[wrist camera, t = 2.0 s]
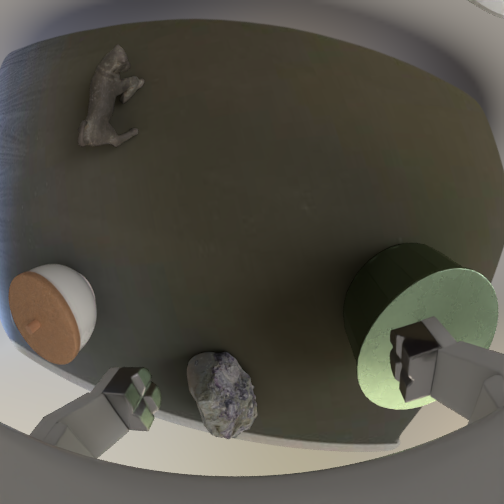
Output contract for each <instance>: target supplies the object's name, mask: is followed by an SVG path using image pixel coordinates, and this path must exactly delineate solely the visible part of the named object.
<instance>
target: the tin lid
mask: <svg viewBox="0 0 504 504" xmlns="http://www.w3.org/2000/svg"><path fill="white" fill-rule="evenodd" d="M432 316H434V317H436V318H437V319H438V320H439V322H440V323H441V324H442V325H443V326H444V327H445V328H446V330H447V331H448V332H449V333H450V334H451V335H452V337H453V338H454V339H455V340H456V341H457V342H460V341H463V342H466V343H470V344H473V345H476V346H479V347H482V348H486V349H489V347H490V345H491V342H492V340H493V337H494V334H495V331H496V326H497V320H498V302H497V297H496V294H495V291H494V289H493V287H492V285H491V284H490V282H489V281H488V280H487V279H486V278H485V277H484V276H483V275H482V274H480V273H479V272H477V271H475V270H473V269H470V268H466V267H456V266H455V267H446V268H442V269H438V270H435V271H432V272H430V273H427V274H425V275H423V276H421V277H419V278H417V279H416V280H414V281H413V282H411V283H410V284H408V285H407V286H405V287H404V288H403V289H402V290H400V291H399V292H398V293H397V294H395V295H394V296H393V297H392V298H391V299H390V300H389V301H388V302H387V303H386V304H385V306H384V307H383V308H382V309H381V310H380V312H379V313H378V314H377V315H376V317H375V318H374V320H373V321H372V323H371V324H370V326H369V328H368V329H367V331H366V333H365V335H364V337H363V340H362V342H361V344H360V348H359V351H358V355H357V362H356V373H357V378H358V382H359V385H360V387H361V390H362V391H363V393H364V394H365V395H366V396H367V397H368V398H369V399H370V400H371V401H372V402H374V403H375V404H377V405H379V406H382V407H385V408H389V409H411V408H416V407H420V406H423V405H426V404H429V403H431V402H434V401H436V400H435V399H434V398H432V397H430V395H429V396H426V397H423V398H420V399H417V400H414V401H411V402H407V403H405V401H404V399H403V396H402V394H401V392H400V390H399V384H400V382H399V381H397V380H395V378H394V376H393V373H392V370H391V365H390V351H391V350H392V348H393V346H392V344H391V342H390V332H391V330H392V329H396V328H399V327H403V326H406V325H409V324H413V323H416V322H419V321H421V320H423V319H426V318H429V317H432Z"/></svg>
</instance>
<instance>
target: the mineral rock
mask: <svg viewBox="0 0 504 504" xmlns="http://www.w3.org/2000/svg"><path fill="white" fill-rule="evenodd" d="M187 379H188V385H189V392H190V393H191V394H192V396H193V398H194V399H195V400H196V402H197V407H198V409H199V411H200V414H201V418H202V420H203V424H204V426H205V427H206V429H207V430H208V431H209V432H210V433H211V434H212V435H214V436H216V437H221V438H222V437H224V438H227V439H230V438H236V437H237V436H238V435H239V434H240V433H241V432H242V431H244V430H249V428H250V427H251V425H252V423H253V421H254V420H255V418H256V417H257V407H256V406H257V403H256V401H255V399H256V396H255V395H254V393H253V388H254V386H253V385H252V384H251V378H250V376H249V375H248V374H247V373H246V372H244V371H243V370H242V368H241V367H240V365H239V363H238V362H237V360H236V359H235V358H234V357H232V356H231V355H230V354H229V353H227V352H222V353H214V352H204V353H201V354H198V355H196V356H194V357H192V358H191V360H190V361H189V363H188V367H187Z"/></svg>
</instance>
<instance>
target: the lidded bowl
mask: <svg viewBox="0 0 504 504" xmlns="http://www.w3.org/2000/svg"><path fill="white" fill-rule="evenodd" d="M9 305H10V310H11V313H12V316H13V319H14V322H15V324H16V326H17V328H18V330H19V331H20V333H21V335H22V336H23V338H24V339H25V341H26V342H27V343H28V344H29V345H30V347H31V348H32V349H33V350H34V351H35V352H37V353H38V354H39V355H40V356H41V357H43V358H44V359H46V360H48V361H50V362H52V363H55V364H68V363H69V362H71V361H72V360H73V359H74V358H75V357H76V356H77V354H78V352H79V351H80V350H81V349H82V348H83V346H84V345H85V344H86V343H87V341H88V340H89V338H90V336H91V334H92V332H93V330H94V327H95V323H96V317H97V308H96V299H95V294H94V291H93V289H92V287H91V285H90V283H89V282H88V281H87V279H86V278H85V277H84V276H83V275H81V274H80V273H78V272H76V271H75V270H73V269H71V268H70V267H67V266H64V265H60V264H46V265H42V266H38V267H36V268H33V269H31V270H29V271H27V272H24V273H21V274H19V275H17V276H16V277H15V278H14V279H13V281H12V282H11V285H10V288H9Z"/></svg>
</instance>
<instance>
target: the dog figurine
mask: <svg viewBox="0 0 504 504" xmlns="http://www.w3.org/2000/svg"><path fill="white" fill-rule="evenodd" d="M129 69H130V63H129V62H128V57H127V55H126V53H125V51H124V49H123V48H121V47H120V46H119V45H116V46H115V47H114V49H113V50H112V51H111V52H109V53H108V54H107V55H106V56H105V57H104V58H103V59H102V60H101V62H100V64H99V65H98V66H97V68H96V72H95V74H94V76H93V77H92V80H91V83H90V99H89V106H88V115H87V118H86V119H85V120H83V121H82V122H81V124H80V126H79V128H78V132H79V135H78V144H79V146H81V147H83V146H85V145H89V146H100V145H103V144H111V145H113V146H114V147H118V146H119V145H120V144H122V143H123V142H124V141H126V140H128V139H130V138H131V137H132V136H134V135H136V134H137V133H138V129H137V128H131V129H130V130H129V131H128V132H126V133H124V134H121V135H117V134H116V132H115V130H114V129H113V127H112V125H110V124H109V120H110V118H111V116H112V114H113V111H114V105H115V98H116V96H118V95H120V94H121V97H120V102H122V104H124V103H125V102H126V101H128V100H129V99H130V98H131V97H132V95H133V94H134V93H135V92H136V90H137V89H139V88H141V87H142V85H143V84H144V80H143V79H138V77H136V76H131V77H130V78H125V79H121V78H120V72H126V71H128V70H129Z"/></svg>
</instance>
